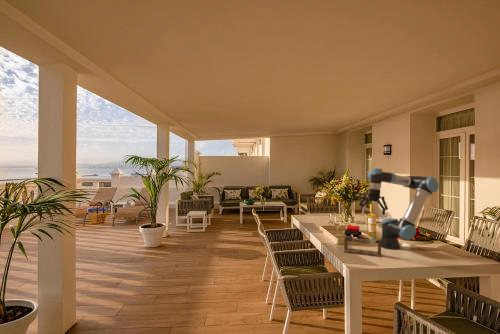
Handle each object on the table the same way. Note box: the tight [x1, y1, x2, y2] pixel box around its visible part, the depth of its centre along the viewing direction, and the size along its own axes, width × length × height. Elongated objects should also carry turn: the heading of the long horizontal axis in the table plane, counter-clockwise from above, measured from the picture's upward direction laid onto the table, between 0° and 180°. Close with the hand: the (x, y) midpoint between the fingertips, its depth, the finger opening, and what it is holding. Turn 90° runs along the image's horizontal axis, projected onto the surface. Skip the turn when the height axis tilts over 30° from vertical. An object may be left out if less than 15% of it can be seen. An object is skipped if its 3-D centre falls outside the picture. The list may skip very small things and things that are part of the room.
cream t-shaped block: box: [368, 230, 376, 246], centre depth 223 cm, size 4×4×10 cm
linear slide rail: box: [343, 235, 382, 258], centre depth 226 cm, size 26×8×12 cm, turn 67°
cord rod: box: [347, 236, 378, 244], centre depth 226 cm, size 24×3×3 cm, turn 67°
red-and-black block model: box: [344, 224, 363, 239], centre depth 271 cm, size 15×8×25 cm
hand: (372, 217), depth 221 cm, fingers open, 13 cm apart
